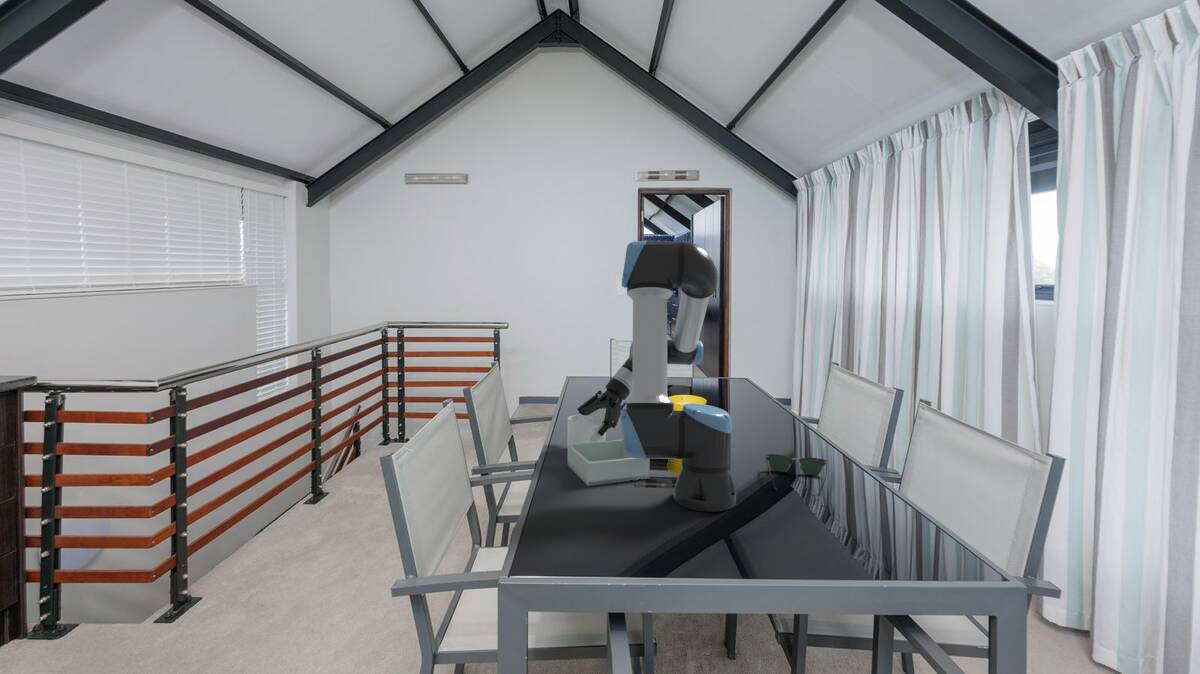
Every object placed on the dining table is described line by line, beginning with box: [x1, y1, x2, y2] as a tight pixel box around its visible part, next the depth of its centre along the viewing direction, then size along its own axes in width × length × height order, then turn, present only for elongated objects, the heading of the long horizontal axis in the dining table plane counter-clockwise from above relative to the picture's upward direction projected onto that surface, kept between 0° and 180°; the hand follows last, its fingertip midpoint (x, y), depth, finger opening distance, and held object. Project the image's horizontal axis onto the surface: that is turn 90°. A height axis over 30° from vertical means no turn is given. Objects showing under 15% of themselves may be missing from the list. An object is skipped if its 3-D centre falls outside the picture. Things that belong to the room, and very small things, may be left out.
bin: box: [566, 438, 651, 487], centre depth 164 cm, size 18×18×6 cm
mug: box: [566, 414, 607, 448], centre depth 182 cm, size 12×8×10 cm
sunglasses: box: [764, 453, 828, 496], centre depth 158 cm, size 16×17×5 cm
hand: (580, 436), depth 181 cm, fingers open, 13 cm apart
